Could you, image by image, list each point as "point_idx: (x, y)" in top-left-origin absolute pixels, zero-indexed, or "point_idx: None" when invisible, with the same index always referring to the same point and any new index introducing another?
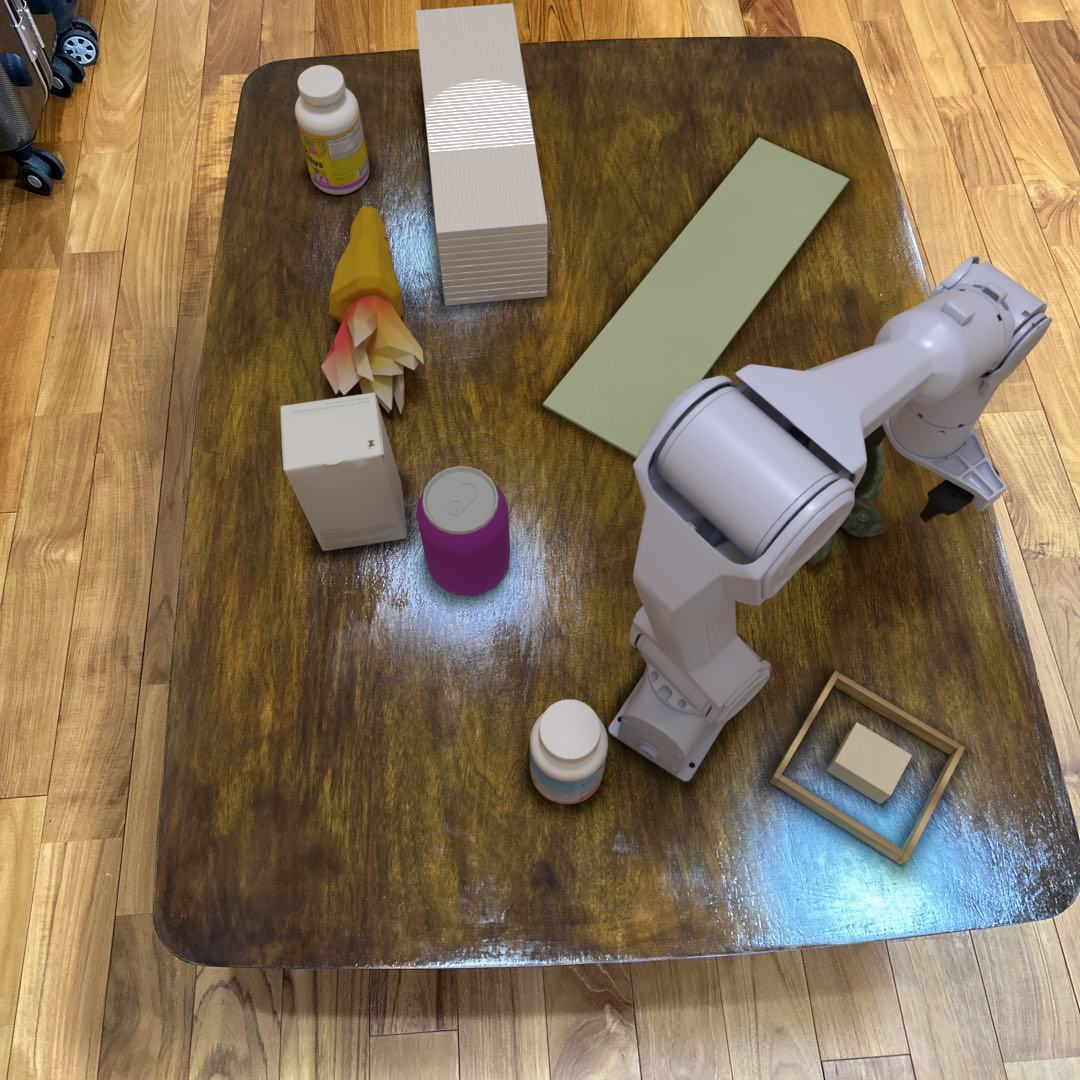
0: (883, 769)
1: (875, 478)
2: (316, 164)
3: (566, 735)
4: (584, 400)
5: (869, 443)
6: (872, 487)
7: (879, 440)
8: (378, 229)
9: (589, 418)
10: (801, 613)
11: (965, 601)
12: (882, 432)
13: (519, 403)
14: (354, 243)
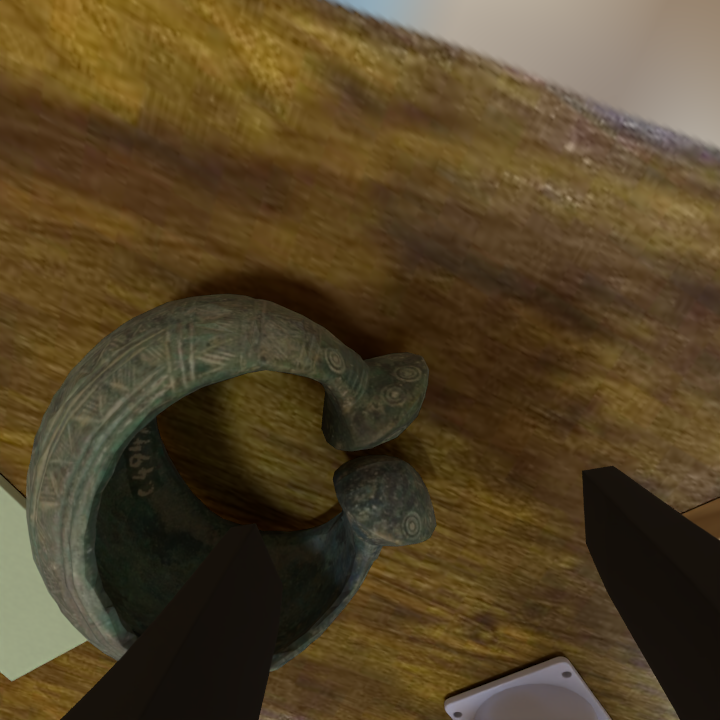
0: None
1: (315, 378)
2: None
3: None
4: (12, 638)
5: (256, 647)
6: (334, 388)
7: (248, 570)
8: None
9: (47, 643)
10: (488, 526)
11: (632, 238)
12: (225, 621)
13: (9, 693)
14: None
